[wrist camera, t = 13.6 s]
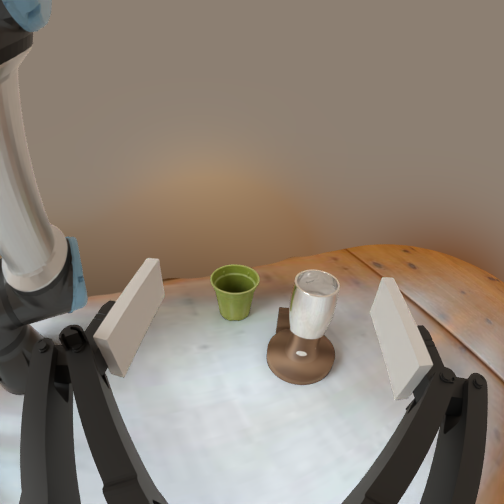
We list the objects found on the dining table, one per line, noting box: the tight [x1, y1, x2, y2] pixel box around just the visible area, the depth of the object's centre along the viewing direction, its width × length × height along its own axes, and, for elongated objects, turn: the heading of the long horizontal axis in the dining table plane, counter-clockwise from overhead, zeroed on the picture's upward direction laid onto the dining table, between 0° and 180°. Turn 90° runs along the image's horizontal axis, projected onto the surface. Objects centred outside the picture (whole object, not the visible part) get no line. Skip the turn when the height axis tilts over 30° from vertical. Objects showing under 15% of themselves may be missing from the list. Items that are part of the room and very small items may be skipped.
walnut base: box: [267, 307, 335, 385], centre depth 46 cm, size 13×12×6 cm
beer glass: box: [285, 270, 340, 364], centre depth 43 cm, size 7×7×15 cm
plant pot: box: [210, 265, 260, 321], centre depth 56 cm, size 9×9×9 cm
